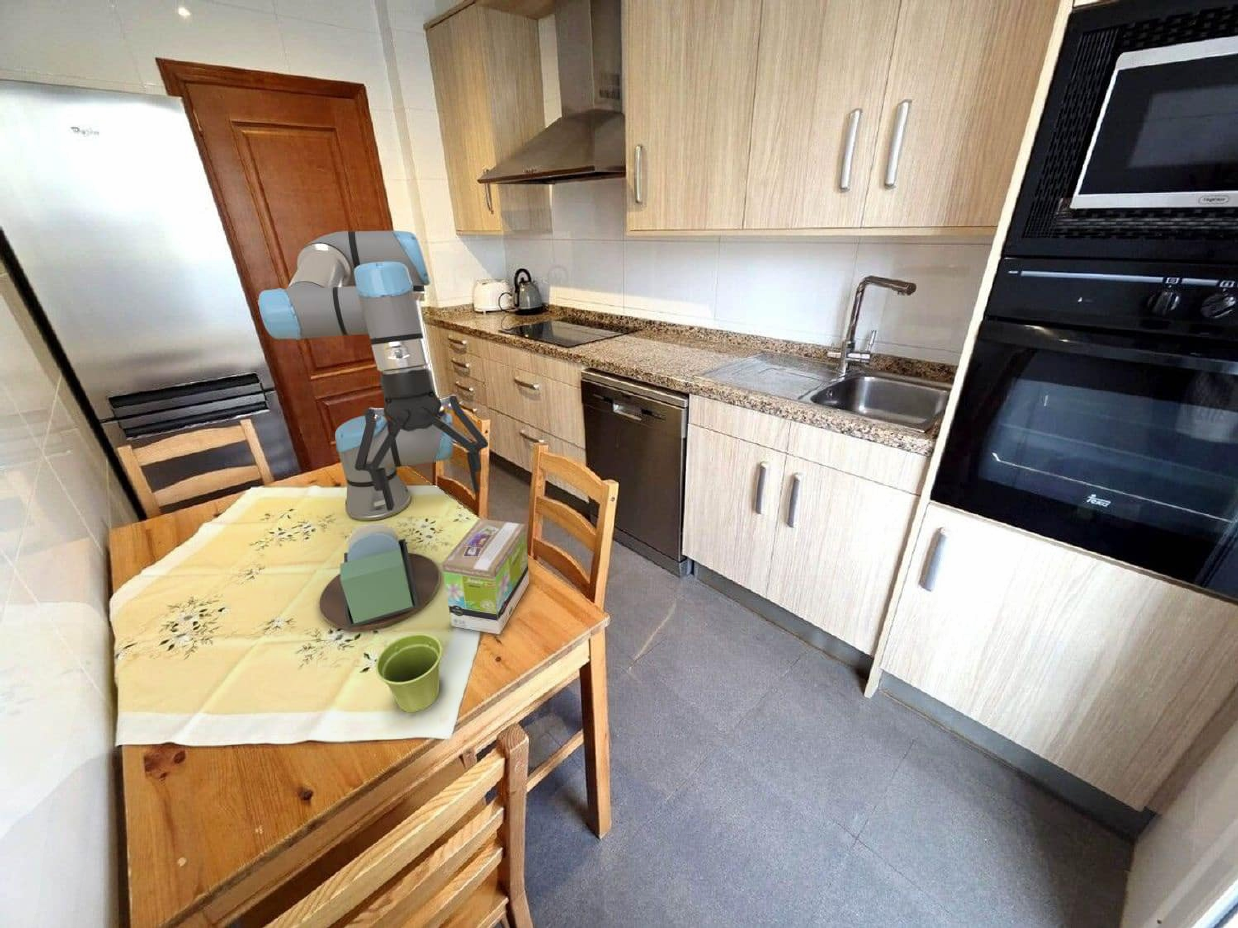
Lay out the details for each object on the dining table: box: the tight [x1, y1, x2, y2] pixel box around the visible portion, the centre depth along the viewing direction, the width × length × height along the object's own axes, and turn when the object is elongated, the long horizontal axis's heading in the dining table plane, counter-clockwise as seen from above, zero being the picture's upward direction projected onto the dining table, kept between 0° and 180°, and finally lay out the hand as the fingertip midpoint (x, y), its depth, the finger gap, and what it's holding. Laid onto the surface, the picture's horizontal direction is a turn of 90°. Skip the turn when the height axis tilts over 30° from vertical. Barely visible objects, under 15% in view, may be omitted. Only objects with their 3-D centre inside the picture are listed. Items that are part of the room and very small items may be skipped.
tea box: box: [441, 517, 530, 635], centre depth 94 cm, size 15×10×15 cm, turn 168°
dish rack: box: [339, 522, 419, 629], centre depth 98 cm, size 20×12×11 cm, turn 26°
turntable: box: [318, 552, 441, 632], centre depth 101 cm, size 22×22×1 cm
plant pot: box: [374, 633, 443, 713], centre depth 77 cm, size 9×9×9 cm
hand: (434, 499), depth 83 cm, fingers open, 13 cm apart
